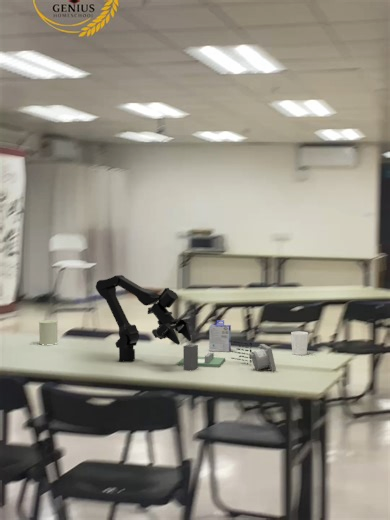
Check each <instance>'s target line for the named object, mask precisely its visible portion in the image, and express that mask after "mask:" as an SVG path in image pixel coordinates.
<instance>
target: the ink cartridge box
mask: <svg viewBox="0 0 390 520" xmlns="http://www.w3.org/2000/svg"><path fill="white" fill-rule="evenodd" d="M231 326H232V325H231V324H225V320H222V319H219V320H216V324H211V325H210V326H209V330H208V331H209V337H208V338H209V341H208V342H209V344H208V345H209V346H208V347H209V350H208V351H209V352H230V351H232V345H231V344H232V328H231ZM229 341H231V342H229Z"/></svg>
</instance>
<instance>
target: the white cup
mask: <svg viewBox="0 0 390 520" xmlns="http://www.w3.org/2000/svg"><path fill="white" fill-rule="evenodd" d="M290 334H291V335H290V338H291V353H292V355H295V356H305V355H307V352H308V351H307V350H308V341H309V332H308V331H298V330H297V331H291V332H290Z"/></svg>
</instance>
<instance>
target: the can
mask: <svg viewBox="0 0 390 520" xmlns="http://www.w3.org/2000/svg"><path fill="white" fill-rule="evenodd" d="M38 325H39V345H40V344H44V345H43V346H48V345H47V344H55V343H57V342H58V320H55V319H54V320H53V319H48V320H47V319H45V320H39V321H38Z"/></svg>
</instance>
